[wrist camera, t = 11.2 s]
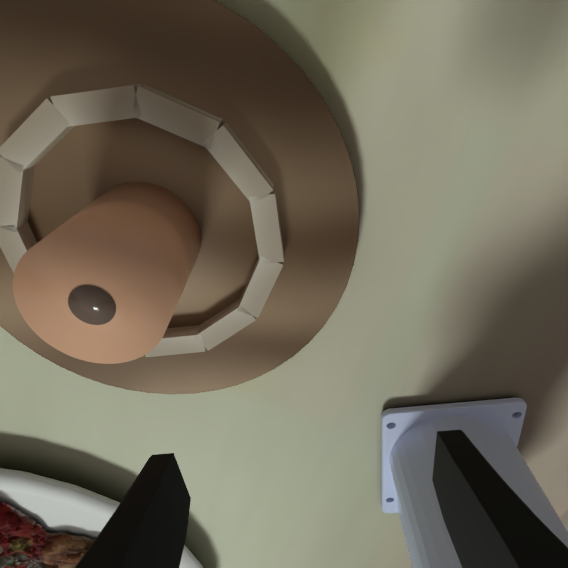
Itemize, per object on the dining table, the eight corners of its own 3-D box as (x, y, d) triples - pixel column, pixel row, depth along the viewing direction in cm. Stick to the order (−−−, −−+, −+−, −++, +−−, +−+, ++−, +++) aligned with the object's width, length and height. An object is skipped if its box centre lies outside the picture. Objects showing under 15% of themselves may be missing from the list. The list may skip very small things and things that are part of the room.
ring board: (361, 367, 22) (366, 388, 20) (40, 397, 23) (24, 419, 21) (347, -63, 13) (355, -78, 11) (-175, 17, 14) (-226, 12, 12)
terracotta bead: (211, 277, 18) (184, 357, 13) (111, 288, 18) (49, 370, 13) (186, 174, 16) (143, 226, 11) (73, 188, 16) (-18, 245, 11)
